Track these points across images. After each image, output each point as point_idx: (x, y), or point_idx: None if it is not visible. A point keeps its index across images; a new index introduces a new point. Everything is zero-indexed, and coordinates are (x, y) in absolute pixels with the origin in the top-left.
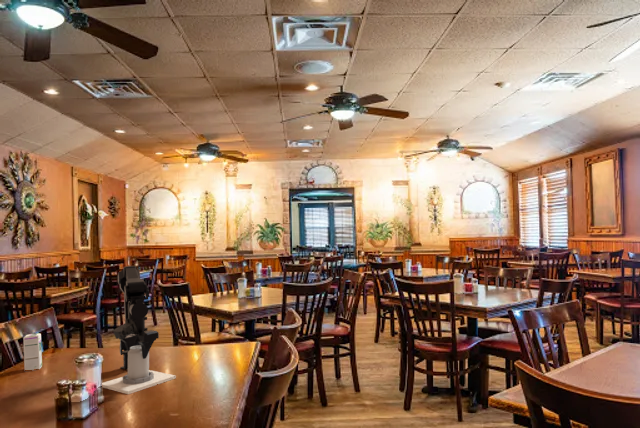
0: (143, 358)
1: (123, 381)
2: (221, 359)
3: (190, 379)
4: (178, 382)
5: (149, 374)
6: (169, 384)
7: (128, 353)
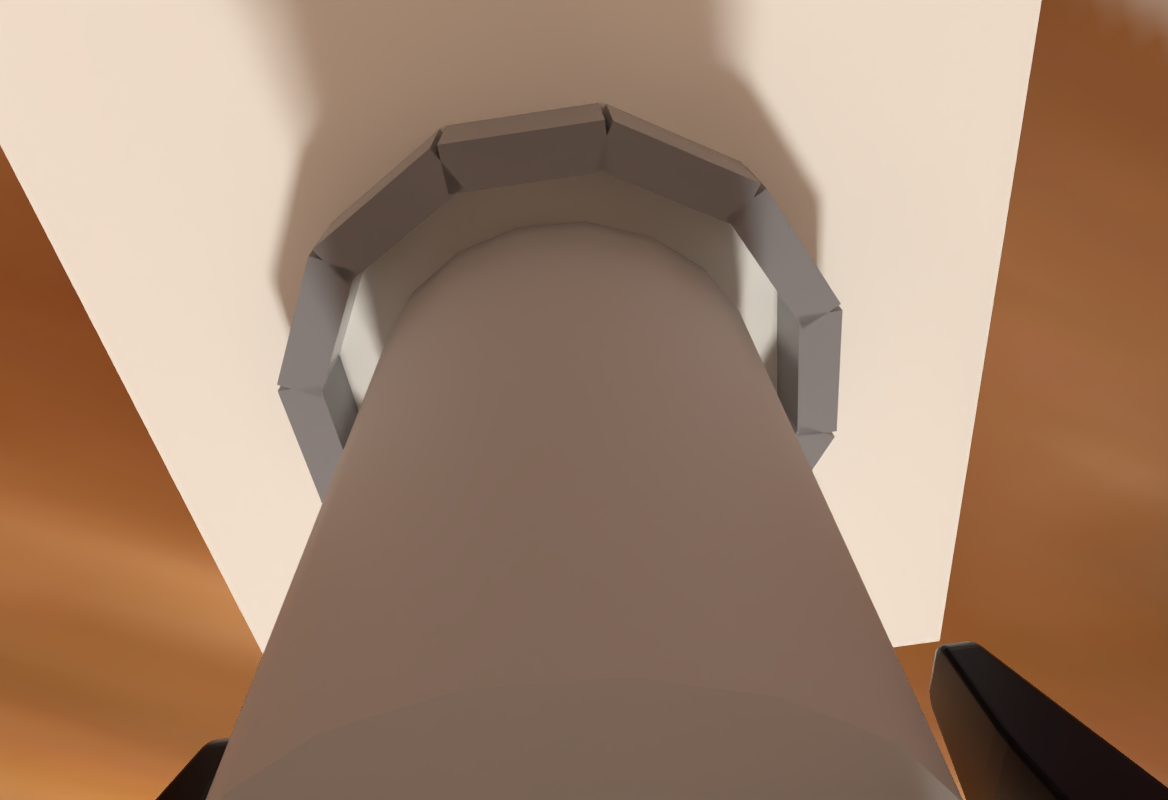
0: (212, 742)
1: (590, 111)
2: None
3: (124, 756)
4: (94, 650)
5: None
6: (79, 561)
7: (634, 655)
